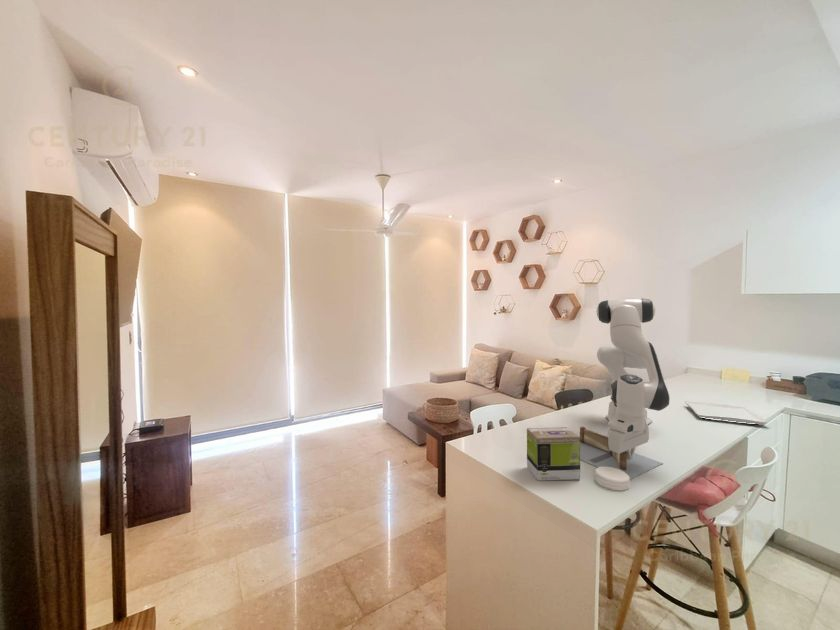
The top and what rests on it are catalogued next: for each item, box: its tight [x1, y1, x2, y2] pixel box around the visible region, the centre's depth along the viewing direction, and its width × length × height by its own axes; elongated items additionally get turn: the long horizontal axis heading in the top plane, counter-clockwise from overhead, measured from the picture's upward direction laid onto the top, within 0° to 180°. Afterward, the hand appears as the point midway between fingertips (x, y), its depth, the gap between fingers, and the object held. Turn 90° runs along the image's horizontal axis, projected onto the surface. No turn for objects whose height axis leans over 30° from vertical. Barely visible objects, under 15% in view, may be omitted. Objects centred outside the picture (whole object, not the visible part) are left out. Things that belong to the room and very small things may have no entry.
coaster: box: [594, 467, 631, 492], centre depth 112 cm, size 10×10×4 cm
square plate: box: [684, 401, 768, 426], centre depth 181 cm, size 27×27×4 cm
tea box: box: [526, 426, 581, 481], centre depth 117 cm, size 15×10×15 cm
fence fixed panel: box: [579, 426, 613, 454], centre depth 139 cm, size 2×15×6 cm, turn 31°
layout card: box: [580, 442, 664, 480], centre depth 131 cm, size 24×28×1 cm
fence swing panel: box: [613, 451, 627, 470], centre depth 126 cm, size 13×2×6 cm, turn 164°
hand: (628, 458), depth 122 cm, fingers closed
